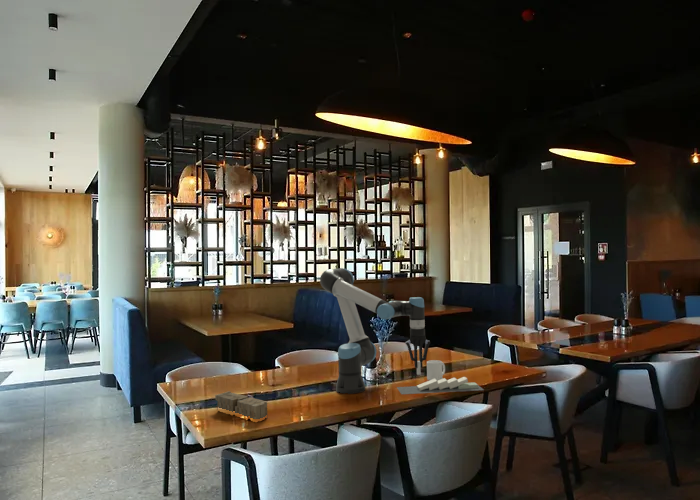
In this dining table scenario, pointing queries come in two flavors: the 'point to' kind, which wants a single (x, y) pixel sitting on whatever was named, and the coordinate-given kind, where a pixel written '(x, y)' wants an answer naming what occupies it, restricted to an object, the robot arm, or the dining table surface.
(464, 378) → the domino
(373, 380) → the dining table surface
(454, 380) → the domino
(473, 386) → the domino
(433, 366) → the cup
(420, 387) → the domino
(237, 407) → the grey long block
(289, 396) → the dining table surface
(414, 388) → the slate mat
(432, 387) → the domino
